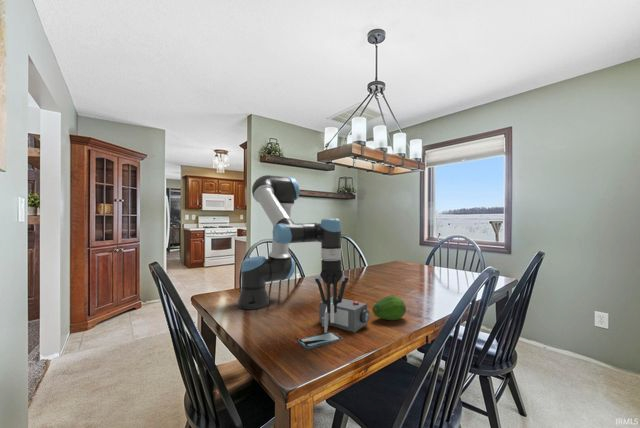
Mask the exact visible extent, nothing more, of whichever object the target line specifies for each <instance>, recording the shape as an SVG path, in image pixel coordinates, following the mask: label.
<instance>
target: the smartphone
mask: <svg viewBox="0 0 640 428" xmlns="http://www.w3.org/2000/svg"><path fill="white" fill-rule="evenodd" d="M342 340H343V337H341V336H340V335H339V334H337V333H335V332H334V331H329V332H328V331H327V333H320V334H316V335H312V336H307V337H302V338H298V340H297V342H298V343H299V345H301V346H302V347H303V348H304V349H306V350H312V349H315V348H319V347H322V346H326V345H330V344H334V343H336V342H340V341H342Z"/></svg>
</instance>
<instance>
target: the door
mask: <svg viewBox="0 0 640 428" xmlns="http://www.w3.org/2000/svg"><path fill="white" fill-rule="evenodd" d="M328 324H329V313H328V312H327V307H326V310H325V314H324V317H322V323H321V327H324V328H323V329H324V333H328V328H329V325H328Z"/></svg>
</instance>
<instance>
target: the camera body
mask: <svg viewBox="0 0 640 428" xmlns="http://www.w3.org/2000/svg"><path fill="white" fill-rule="evenodd" d="M325 299H326V300H327V298H325ZM337 299H338V296H337ZM331 303H333V296H331ZM318 307H319V309H318V313H319V314H318V316H319V317H318V319H319V320H318V323H321V324H322V317H324V314H325V310H326V307H327V304H324V303H323V302H322V300H321V301H319V302H318ZM369 320H370V311H369V310H368V303H365V302H360V301H358V300H351V299H346V298H342V302H341V303H338V304H337V312H336V313H334V323H331V322H330V313H329V324H328V326H331V327H333V328H339V329H342V330H344V331H347V332H351V333H357V332H358V331H359V330H361V329H363V328H364V327H365V326H367V325H368V322H369Z"/></svg>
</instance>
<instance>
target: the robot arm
mask: <svg viewBox="0 0 640 428" xmlns="http://www.w3.org/2000/svg"><path fill="white" fill-rule="evenodd" d="M251 193H252V197H253V198H254V200H255V202H257V203H259V204H260V207H261V208H262V209H263V211H264V213H265V215H266V216H267V217H268V219H269V221H270V223H271V224H272V241H271V242H272V243H271V252H270V253H268V257H267V258H266V256H261V255H260V256H252V257H247V258H245V259H244V260H243V261H241V269H240V271H241V291H240V294H239V298H238V300H237V307H238V308H239V309H243V310H259V309H262V308H266V307H268V306H269V304H270V299H269V295H268V292H267V288H266V283H271V282H279V281H286V280H290V279H291V278H292V276H293V275H294V273H295V268H296V266H295V259H294V258H293V257H292V255H291V253H290V251H289V247H290V245H289V244H298V243H299V244H301V243H321V245H320V246H321V247H320V249H321V251H320V252H321V253H320V254H321V259H322V260H321V269H320V270H321V271H320V273H319V274H320V275H319V276H317V277H315V278H314V281H315V283H316V284H317V288H318V290H319V294H320V295H319V296H320V297H321V301H322V302H323V303H324V304H327V312H328V313H330V322H331V323H334V313H336V312H337V304H338V303H341V302H342V299H344V298H343V296H344V294H345V289H346V285H347V283H348V281H349V277H347V276H346V275H344V274H343V272H342V260H341V258H342V228H341V227H342V225H341V220H340V219H339V218H323V219H321V220H320V223H317V222H310V223H309V222H307V223H295V222H294V221H293V220H292V218H291V213H292V211H291V210H292V207H293V206H294V205H295V201H296V200H298V199H299V197H300V185H299V183H298V181H297V179H296V178H294V177H291V176H278V175H270V174H269V175H268V174H267V175H261V176H260V177H258V178H257V179H255V181H254V183H253V184H252V187H251ZM322 280H323V281H324V283H325V286H326V287H325V289H326V290H325V291H326V295H325V293H324V289H323V285H322ZM340 281H341V283H340V286H339V291H338V283H339V282H340ZM331 286H332V295H331ZM325 296H326V297H325ZM331 297H333V303H331ZM337 297H338V299H337ZM326 299H327V300H326Z"/></svg>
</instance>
